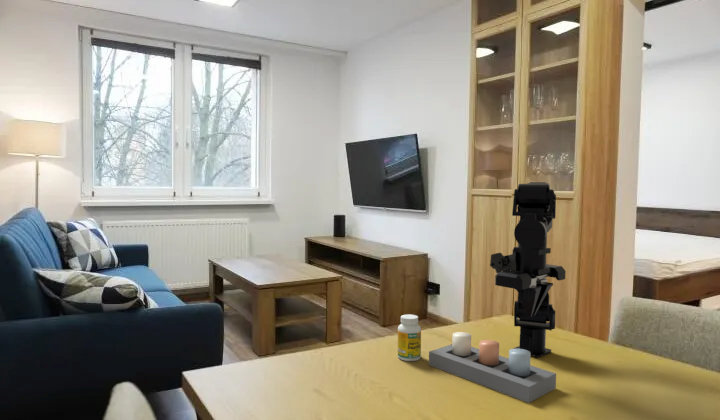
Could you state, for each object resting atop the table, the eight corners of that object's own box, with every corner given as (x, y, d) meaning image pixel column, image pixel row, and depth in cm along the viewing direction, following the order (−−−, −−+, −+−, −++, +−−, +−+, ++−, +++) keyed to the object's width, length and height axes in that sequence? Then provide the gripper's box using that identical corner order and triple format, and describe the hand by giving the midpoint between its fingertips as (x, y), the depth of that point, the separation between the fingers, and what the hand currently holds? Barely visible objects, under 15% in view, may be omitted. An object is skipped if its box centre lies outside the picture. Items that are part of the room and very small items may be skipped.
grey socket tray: (457, 354, 111) (457, 342, 111) (555, 388, 93) (556, 373, 93) (428, 364, 105) (429, 351, 105) (528, 403, 87) (529, 386, 86)
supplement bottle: (410, 352, 113) (411, 312, 113) (425, 358, 109) (426, 317, 108) (392, 356, 110) (393, 315, 110) (407, 363, 106) (407, 320, 105)
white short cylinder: (459, 348, 107) (460, 330, 107) (474, 353, 104) (475, 335, 104) (448, 352, 104) (448, 334, 104) (463, 357, 101) (463, 338, 101)
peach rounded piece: (486, 357, 102) (486, 338, 101) (502, 362, 99) (503, 343, 98) (475, 361, 99) (475, 342, 99) (491, 366, 96) (491, 347, 96)
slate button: (515, 366, 96) (516, 347, 96) (533, 372, 93) (534, 352, 93) (504, 371, 94) (505, 351, 94) (523, 377, 91) (523, 357, 91)
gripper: (521, 237, 113) (519, 302, 113) (474, 242, 101) (472, 315, 101) (567, 241, 104) (565, 311, 105) (521, 247, 92) (519, 327, 93)
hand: (530, 315), depth 101 cm, fingers closed
